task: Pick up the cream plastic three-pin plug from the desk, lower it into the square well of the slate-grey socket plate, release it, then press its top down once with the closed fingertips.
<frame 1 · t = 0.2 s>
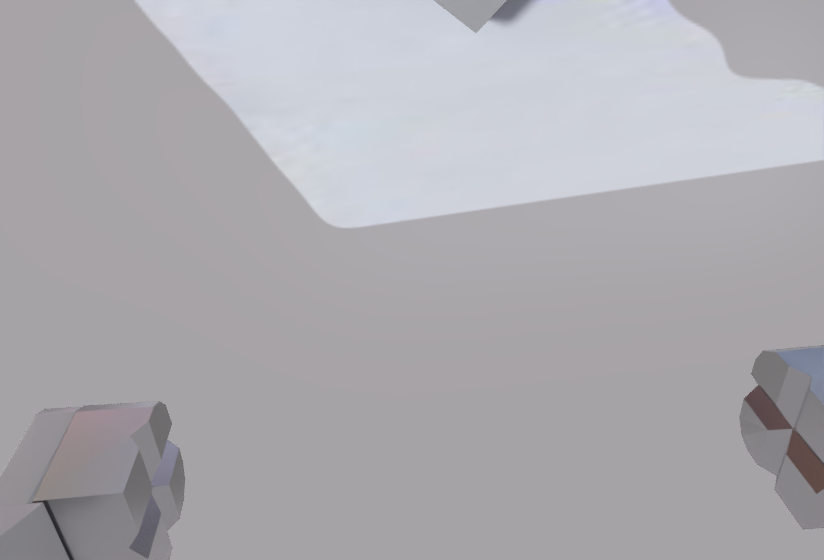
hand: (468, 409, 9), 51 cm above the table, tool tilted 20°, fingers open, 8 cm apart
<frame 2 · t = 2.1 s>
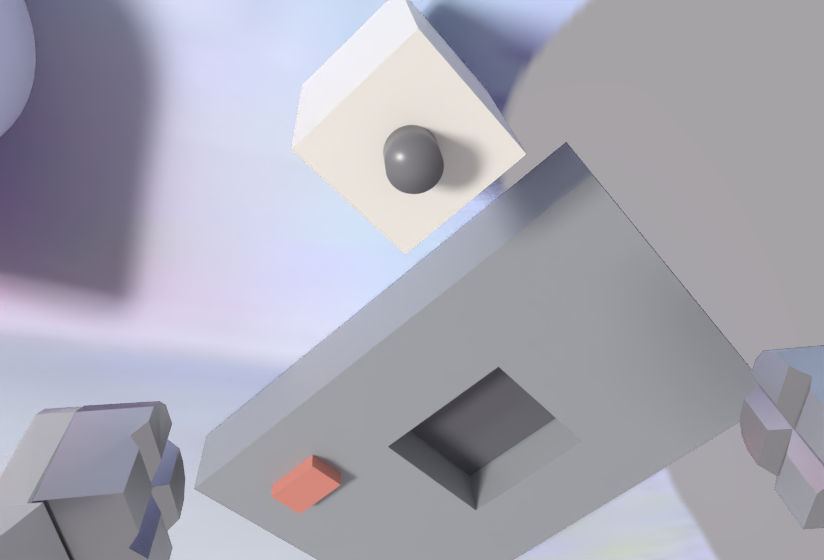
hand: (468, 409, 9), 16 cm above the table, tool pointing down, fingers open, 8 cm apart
socket plate: (474, 395, 31), on the table
plug: (393, 77, 23), on the table
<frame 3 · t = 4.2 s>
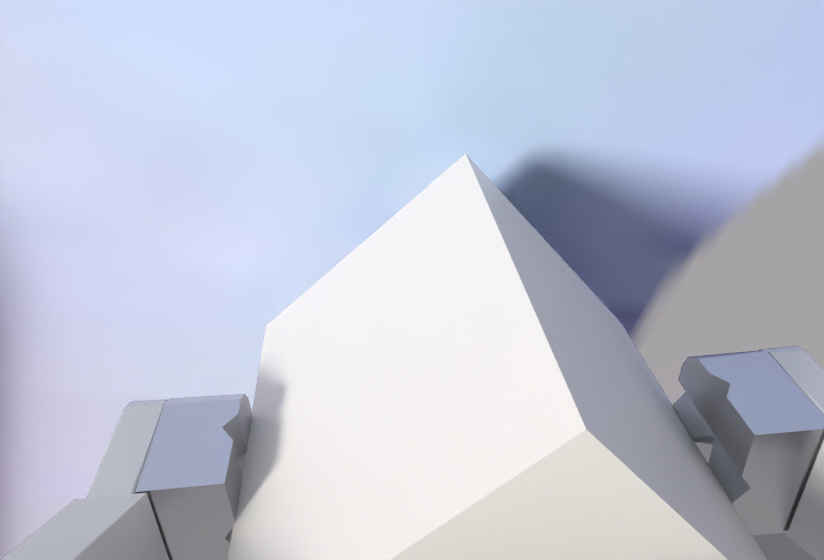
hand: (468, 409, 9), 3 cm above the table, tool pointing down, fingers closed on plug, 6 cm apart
plug: (439, 286, 12), on the table, touching gripper
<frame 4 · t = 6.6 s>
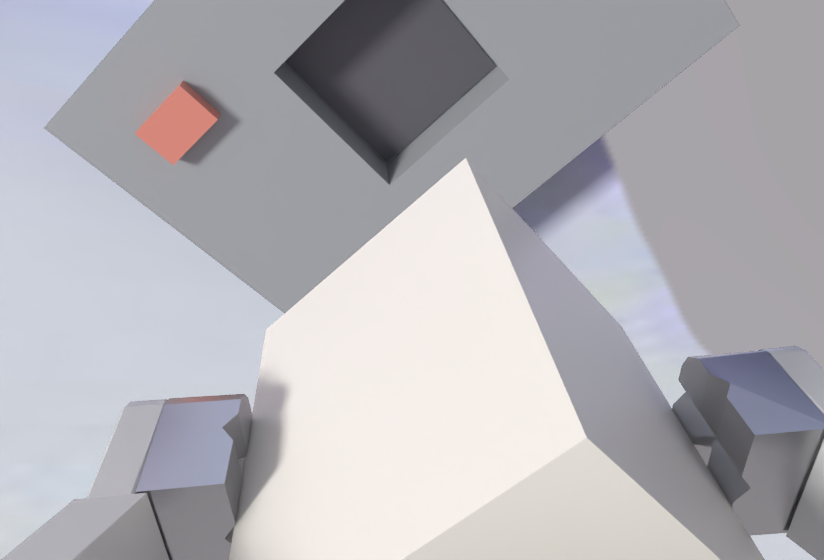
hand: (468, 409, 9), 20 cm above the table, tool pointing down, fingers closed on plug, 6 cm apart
socket plate: (388, 54, 26), on the table
plug: (439, 289, 12), point 16 cm above the table, touching gripper
when the fingers open (5 cm above the table, at t = 9.2 s): plug stays where it is, resting on socket plate.
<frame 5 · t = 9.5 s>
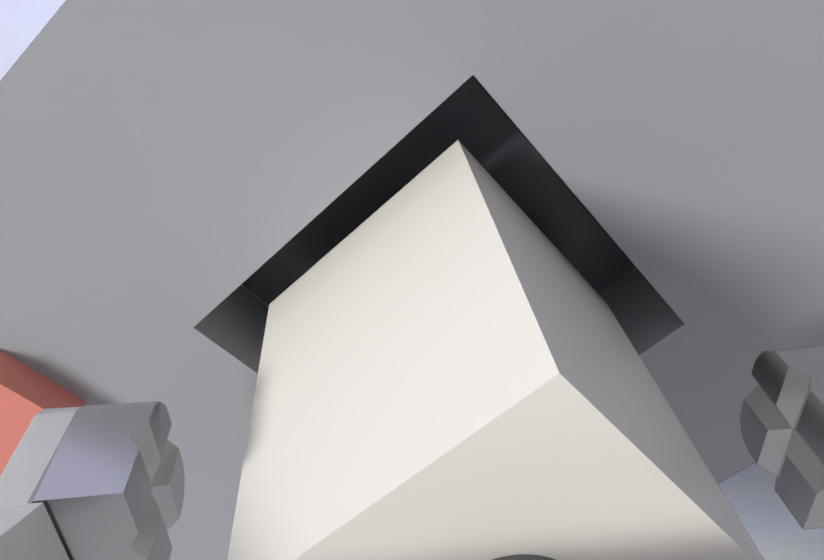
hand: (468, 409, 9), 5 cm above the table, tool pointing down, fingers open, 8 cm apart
socket plate: (428, 241, 14), on the table
plug: (434, 269, 13), point 1 cm above the table, touching socket plate
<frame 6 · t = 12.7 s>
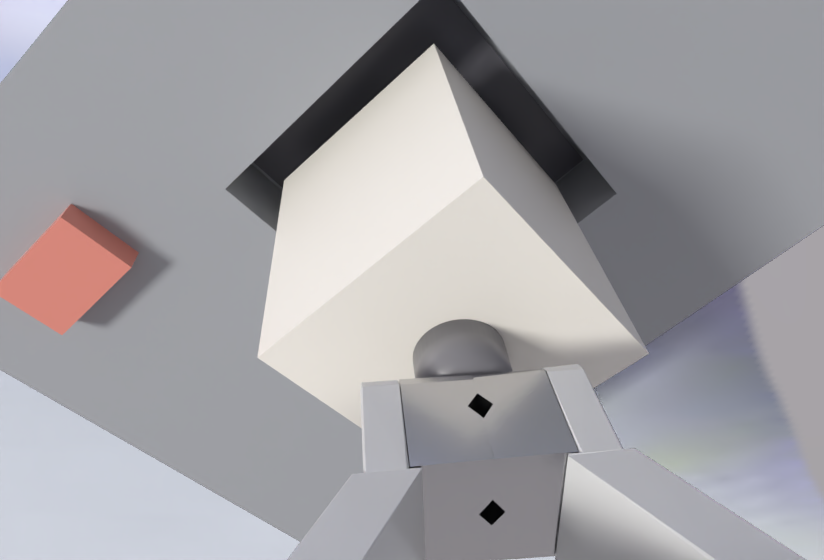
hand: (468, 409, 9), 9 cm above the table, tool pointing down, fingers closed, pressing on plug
socket plate: (413, 139, 17), on the table
plug: (417, 158, 16), point 1 cm above the table, touching gripper, socket plate
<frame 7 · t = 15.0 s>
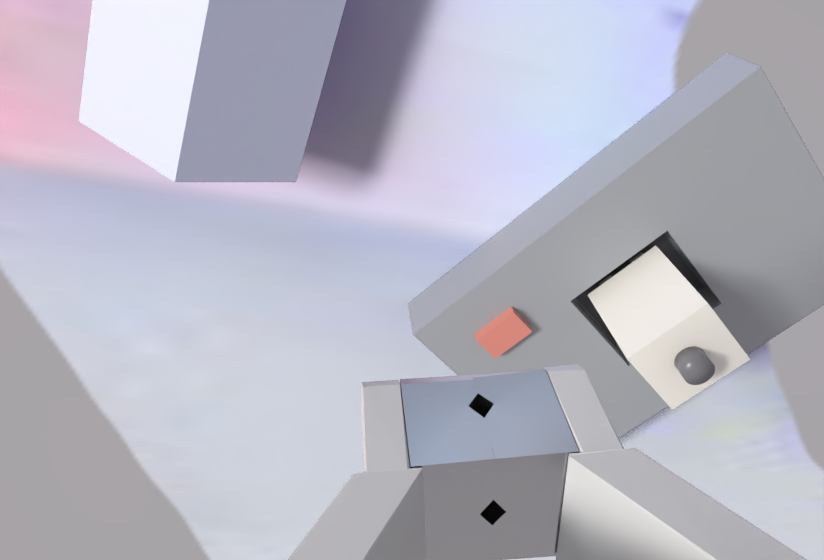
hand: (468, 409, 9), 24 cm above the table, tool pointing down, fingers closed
socket plate: (625, 274, 38), on the table
plug: (633, 284, 37), point 1 cm above the table, touching socket plate
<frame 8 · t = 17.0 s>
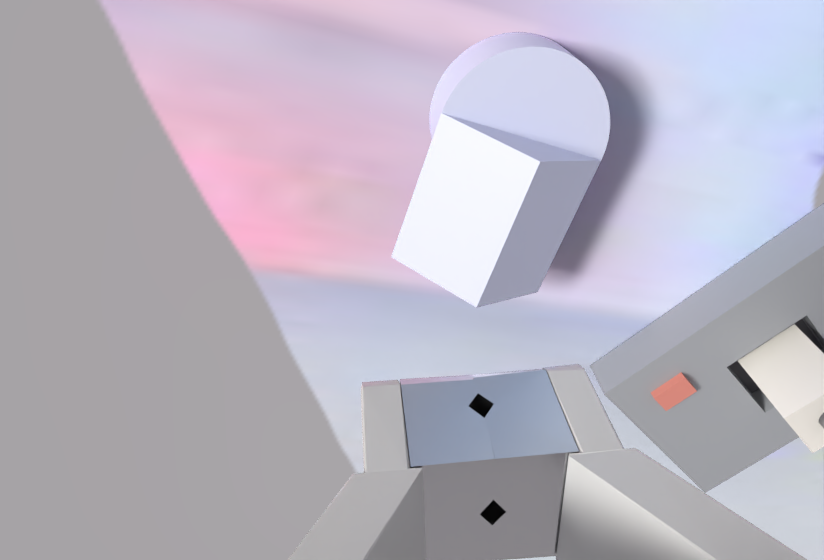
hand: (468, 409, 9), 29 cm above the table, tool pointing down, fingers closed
socket plate: (761, 339, 48), on the table
wedge on round base: (495, 148, 39), on the table
plug: (769, 349, 47), point 1 cm above the table, touching socket plate
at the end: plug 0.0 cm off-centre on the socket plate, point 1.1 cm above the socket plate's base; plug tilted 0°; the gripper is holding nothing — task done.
